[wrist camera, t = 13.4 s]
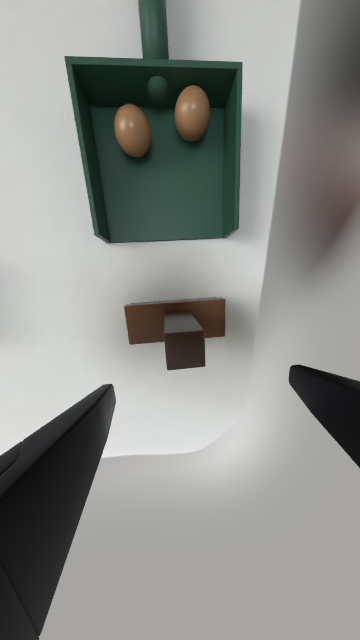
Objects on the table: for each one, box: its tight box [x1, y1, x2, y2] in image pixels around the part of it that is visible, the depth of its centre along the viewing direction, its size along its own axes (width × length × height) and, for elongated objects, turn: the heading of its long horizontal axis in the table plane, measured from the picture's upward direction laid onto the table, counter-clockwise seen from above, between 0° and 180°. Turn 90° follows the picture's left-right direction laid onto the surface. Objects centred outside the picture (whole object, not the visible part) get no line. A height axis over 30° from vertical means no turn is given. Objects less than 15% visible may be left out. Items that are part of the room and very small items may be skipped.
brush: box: [124, 298, 225, 370], centre depth 15 cm, size 10×4×10 cm, turn 93°
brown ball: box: [175, 85, 210, 142], centre depth 14 cm, size 3×3×3 cm
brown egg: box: [114, 104, 151, 158], centre depth 14 cm, size 3×3×3 cm
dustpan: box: [65, 0, 242, 243], centre depth 14 cm, size 20×13×3 cm, turn 3°
